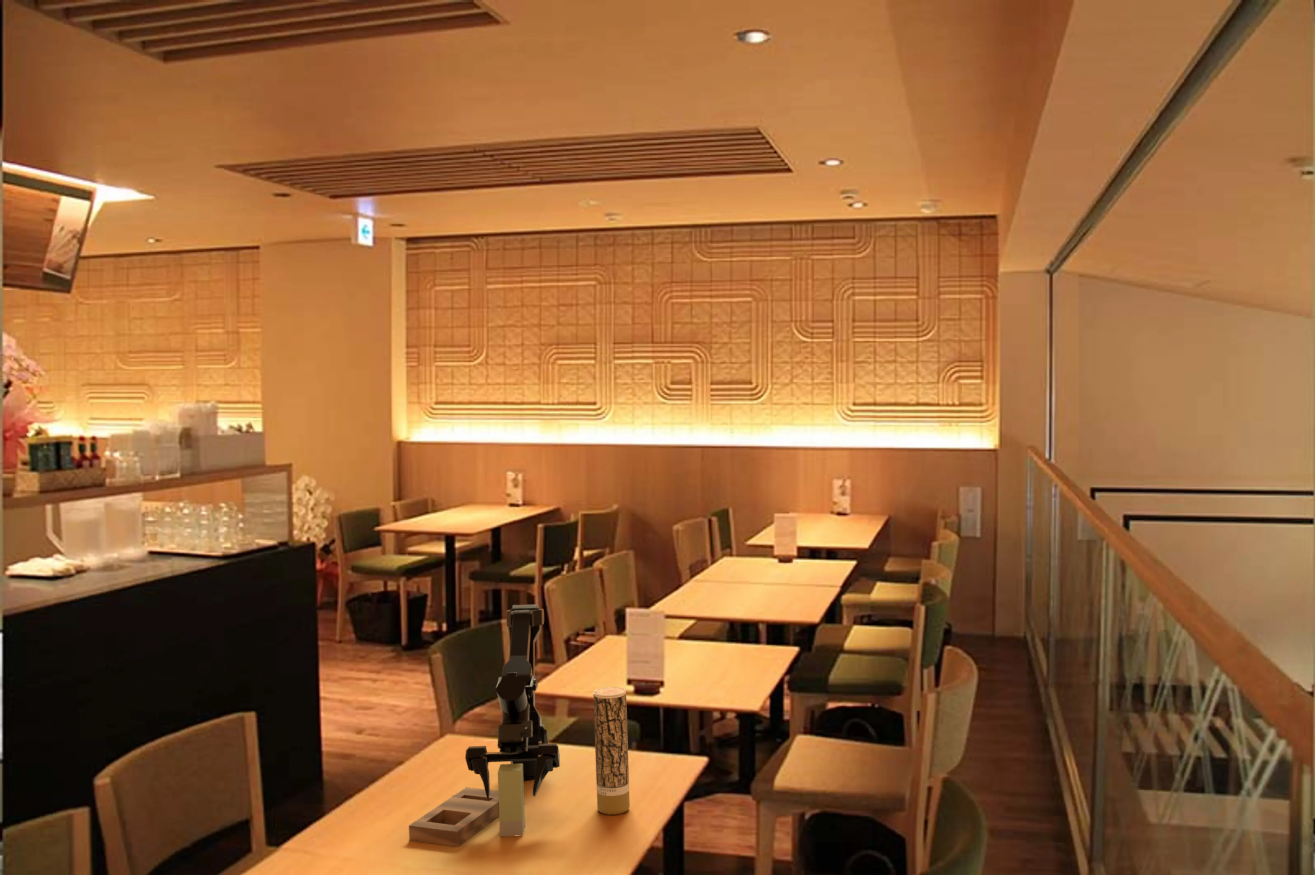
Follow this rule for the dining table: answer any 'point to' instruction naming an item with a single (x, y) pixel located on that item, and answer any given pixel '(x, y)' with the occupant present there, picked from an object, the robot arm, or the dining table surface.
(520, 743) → the robot arm
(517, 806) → the square bit
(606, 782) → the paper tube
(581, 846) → the dining table surface
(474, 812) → the socket board
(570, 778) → the dining table surface
